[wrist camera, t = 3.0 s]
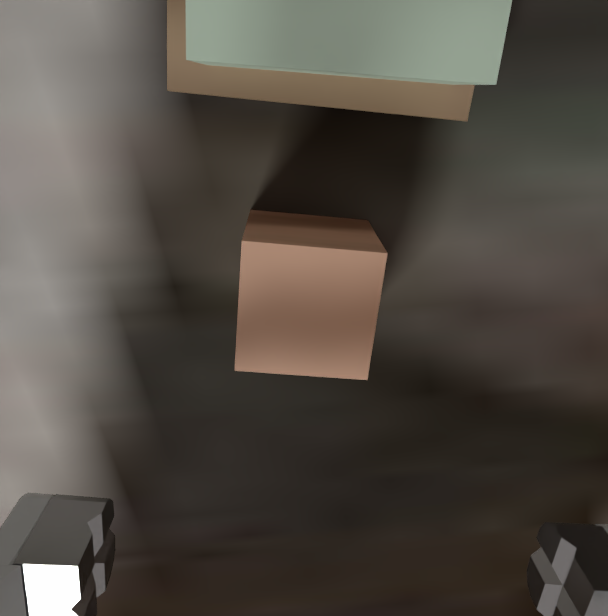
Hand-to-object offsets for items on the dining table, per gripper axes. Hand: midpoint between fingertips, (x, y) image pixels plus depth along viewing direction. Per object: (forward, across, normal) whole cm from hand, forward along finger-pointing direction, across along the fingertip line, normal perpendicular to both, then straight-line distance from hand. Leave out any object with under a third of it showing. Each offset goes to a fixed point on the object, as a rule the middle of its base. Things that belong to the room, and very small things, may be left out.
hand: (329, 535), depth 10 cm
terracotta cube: (+15, 0, 0) cm, 15 cm away
